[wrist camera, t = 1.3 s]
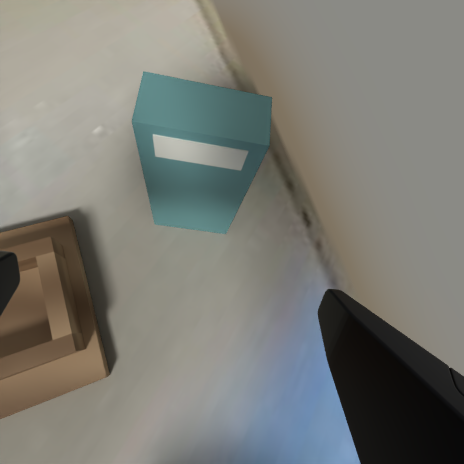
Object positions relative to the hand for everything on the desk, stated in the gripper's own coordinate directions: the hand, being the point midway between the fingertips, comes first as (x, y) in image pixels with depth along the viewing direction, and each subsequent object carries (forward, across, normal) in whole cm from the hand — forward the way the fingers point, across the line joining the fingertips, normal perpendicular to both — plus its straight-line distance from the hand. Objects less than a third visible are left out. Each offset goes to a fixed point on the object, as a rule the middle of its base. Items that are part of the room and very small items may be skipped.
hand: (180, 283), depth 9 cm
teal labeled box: (+14, 0, +4) cm, 15 cm away
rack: (+8, +11, +10) cm, 17 cm away
